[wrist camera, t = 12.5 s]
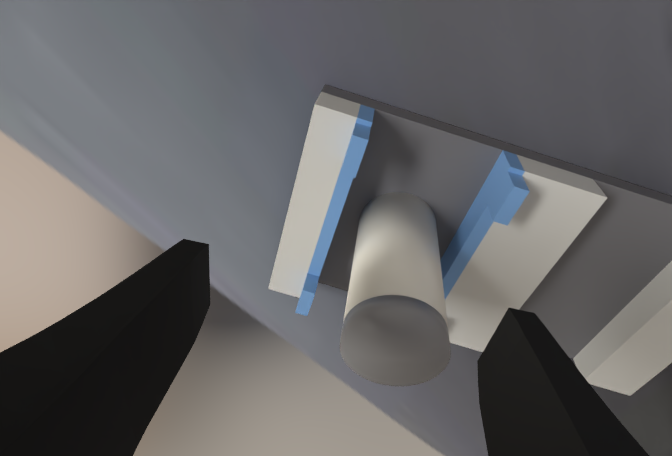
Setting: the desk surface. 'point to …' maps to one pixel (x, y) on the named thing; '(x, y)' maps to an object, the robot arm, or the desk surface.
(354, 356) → the cream round-ended cylinder
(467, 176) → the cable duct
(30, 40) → the desk surface
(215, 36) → the desk surface
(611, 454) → the robot arm
